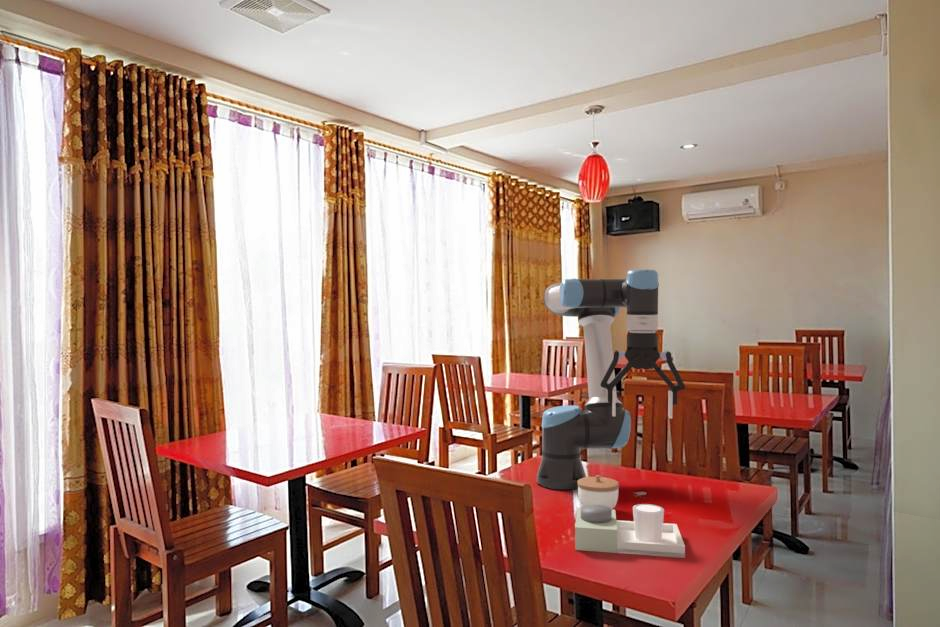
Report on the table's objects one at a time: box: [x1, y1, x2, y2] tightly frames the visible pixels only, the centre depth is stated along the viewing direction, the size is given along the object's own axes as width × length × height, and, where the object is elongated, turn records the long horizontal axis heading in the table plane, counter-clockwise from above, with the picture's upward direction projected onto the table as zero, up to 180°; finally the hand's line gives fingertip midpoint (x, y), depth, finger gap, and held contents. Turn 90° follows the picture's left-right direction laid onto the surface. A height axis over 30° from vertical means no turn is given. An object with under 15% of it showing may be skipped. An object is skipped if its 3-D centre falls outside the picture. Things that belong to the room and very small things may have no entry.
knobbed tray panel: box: [574, 505, 686, 559], centre depth 139 cm, size 14×23×7 cm, turn 78°
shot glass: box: [632, 503, 665, 543], centre depth 138 cm, size 7×7×7 cm
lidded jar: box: [577, 474, 620, 510], centre depth 161 cm, size 11×11×9 cm
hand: (641, 416), depth 153 cm, fingers open, 13 cm apart
